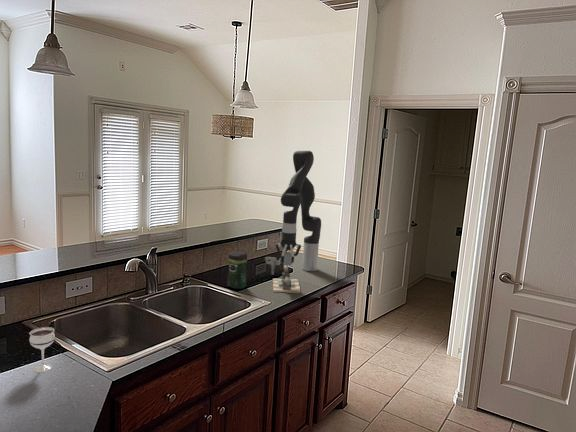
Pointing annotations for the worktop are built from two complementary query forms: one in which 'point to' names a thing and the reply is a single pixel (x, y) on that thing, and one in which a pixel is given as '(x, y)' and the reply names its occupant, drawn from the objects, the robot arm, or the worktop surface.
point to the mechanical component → (272, 262)
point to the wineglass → (42, 344)
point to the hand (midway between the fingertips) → (287, 262)
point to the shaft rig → (286, 283)
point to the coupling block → (287, 258)
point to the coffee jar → (237, 270)
